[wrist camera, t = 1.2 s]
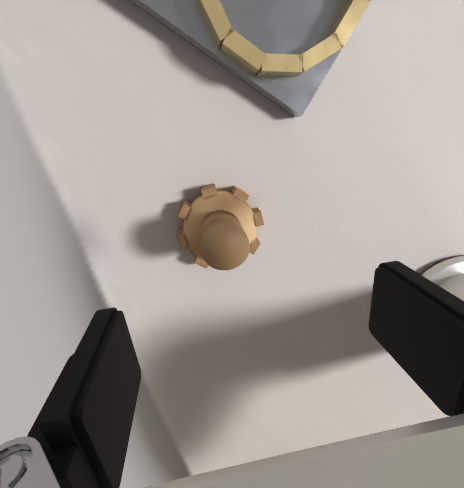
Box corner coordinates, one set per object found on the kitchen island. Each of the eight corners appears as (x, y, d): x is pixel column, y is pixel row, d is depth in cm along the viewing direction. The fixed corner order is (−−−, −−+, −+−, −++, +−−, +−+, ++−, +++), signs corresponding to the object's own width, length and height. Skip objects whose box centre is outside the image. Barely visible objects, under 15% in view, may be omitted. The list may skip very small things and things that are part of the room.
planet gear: (275, 209, 25) (295, 227, 20) (233, 274, 27) (242, 306, 22) (202, 167, 23) (203, 176, 18) (163, 241, 25) (155, 268, 20)
